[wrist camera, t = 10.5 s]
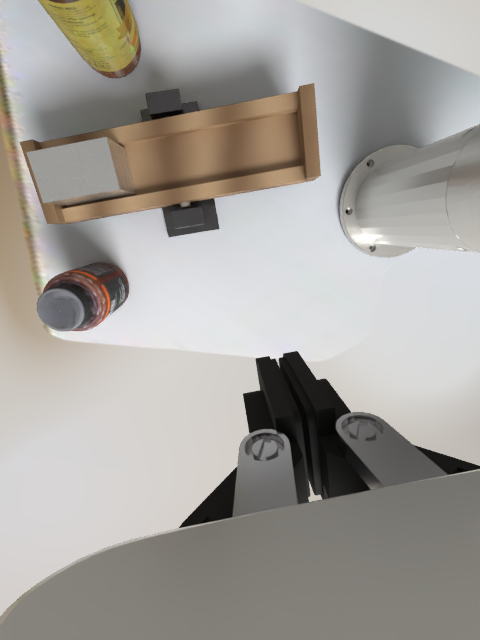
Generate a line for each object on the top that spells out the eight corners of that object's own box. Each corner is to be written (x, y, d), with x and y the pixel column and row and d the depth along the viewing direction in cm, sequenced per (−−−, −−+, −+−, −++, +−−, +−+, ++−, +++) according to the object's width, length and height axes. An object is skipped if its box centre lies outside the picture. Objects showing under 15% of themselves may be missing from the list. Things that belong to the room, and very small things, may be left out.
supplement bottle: (72, 268, 36) (10, 285, 25) (120, 256, 36) (79, 267, 25) (91, 314, 38) (41, 348, 27) (137, 303, 38) (105, 332, 27)
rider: (125, 148, 28) (106, 136, 24) (136, 194, 29) (119, 189, 25) (55, 162, 29) (26, 152, 25) (69, 205, 30) (43, 203, 26)
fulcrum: (293, 88, 32) (309, 59, 27) (304, 214, 36) (320, 211, 30) (48, 126, 31) (12, 104, 26) (86, 250, 35) (62, 254, 30)
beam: (301, 104, 30) (313, 77, 24) (308, 187, 32) (321, 180, 27) (56, 151, 32) (18, 136, 26) (80, 227, 34) (48, 228, 29)
